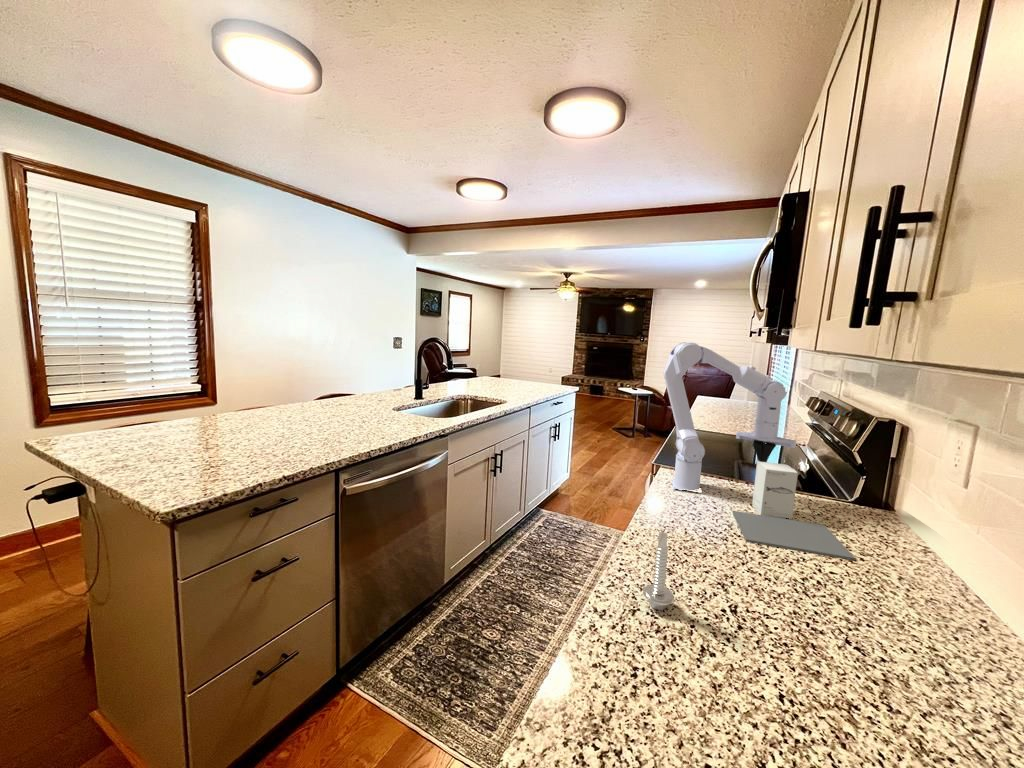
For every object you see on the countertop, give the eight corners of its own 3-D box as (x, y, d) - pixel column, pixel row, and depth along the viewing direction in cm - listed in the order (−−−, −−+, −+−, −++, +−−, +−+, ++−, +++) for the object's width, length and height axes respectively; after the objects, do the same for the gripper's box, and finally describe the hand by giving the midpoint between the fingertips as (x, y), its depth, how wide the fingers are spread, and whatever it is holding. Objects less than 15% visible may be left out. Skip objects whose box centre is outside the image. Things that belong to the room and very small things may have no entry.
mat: (732, 512, 103) (732, 510, 103) (823, 526, 97) (824, 524, 96) (745, 541, 88) (746, 539, 88) (855, 560, 82) (855, 558, 82)
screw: (673, 618, 63) (641, 610, 64) (672, 600, 67) (642, 593, 69) (680, 541, 61) (647, 535, 63) (678, 528, 66) (647, 522, 67)
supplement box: (759, 515, 102) (765, 468, 100) (751, 504, 109) (756, 460, 107) (793, 520, 99) (798, 472, 98) (782, 508, 107) (787, 463, 105)
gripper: (735, 419, 115) (731, 464, 117) (795, 427, 106) (790, 476, 107) (741, 416, 121) (736, 459, 122) (799, 424, 111) (793, 470, 113)
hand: (762, 466), depth 115 cm, fingers closed
